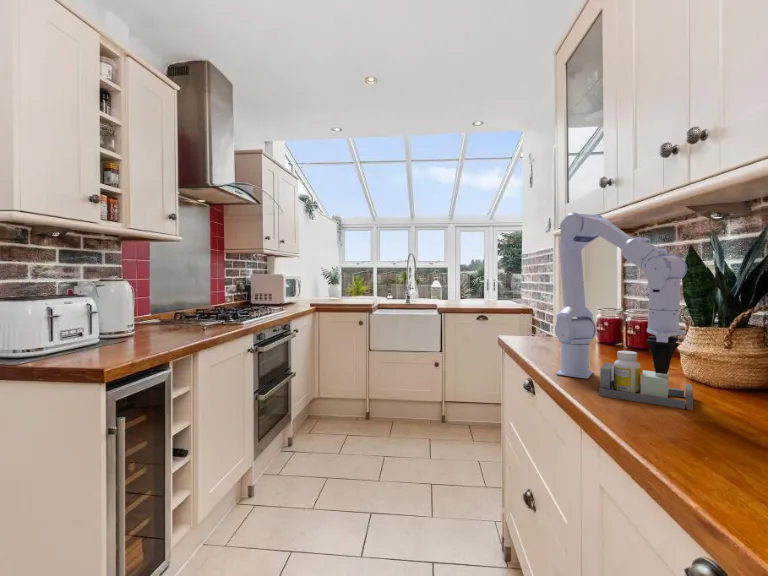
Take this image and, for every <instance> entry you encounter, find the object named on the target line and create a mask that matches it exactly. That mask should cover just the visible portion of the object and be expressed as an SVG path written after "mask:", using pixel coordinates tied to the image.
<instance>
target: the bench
mask: <svg viewBox="0 0 768 576" xmlns="http://www.w3.org/2000/svg"><path fill="white" fill-rule="evenodd" d="M599 374H600V378H599V382H600V383H599V389H598V396H599V397H605V398H611V399H612V398H613V399H619V400H626V401H632V402H638V403H643V404H651V405H656V406H663V407H669V408H670V407H671V408H676V409H682V410H685V409H686V410H688V411H689V410H690V411H693V410H694V392H693V386H692V384H691V383H685V389H680V388H673V387H668V396H670V397H671V396H672V397H679V398H685V400H683V399H677V398H669V397H668V398H664V397H657V396H650V395H643V394H641V393H640V394H636V393H630V392H623V391H616V390H613V381H614V380H613V379H614V362H604V364H603V365H602V366H601V367H600V372H599ZM640 392H641V383H640Z"/></svg>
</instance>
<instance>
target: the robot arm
mask: <svg viewBox="0 0 768 576" xmlns="http://www.w3.org/2000/svg"><path fill="white" fill-rule="evenodd" d="M559 228H560V240H559V256H560V257H559V260H560V274H561V286H562V298H563V299H562V301H563V302H562V303H563V307H562V309H561V310H560V311H559V312H558V313H557V314H556V322H555V324H554V333H555V336H556V338H557V339H558V342H560V364H559V365H560V369H559V370H558V371H557V372H556V373H555V374H556V375H558V376H563V377H572V378H579V379H586V380H587V379H589V378H590V377H591V375H592V374H593V373H594V370H593V369H592V370H591V369H590V361H591V360H590V359H591V358H590V356H591V354H590V353H591V351H590V345H591V343H592V340H593V339H594V338H595V337H596V335H597V332H598V331H597V329H598V328H597V324H596V322H595V320H594V317H593V316H594V314H593V313H592V312H591V311H590V309H588V308H587V307H586V294H585V285H584V283H585V282H584V270H583V257H582V256H583V255H582V251H583V249H584V248H585V247H586V246H587V245H589V244H590V243H591V242H593V241H595V240H596V239H597V238H599V237H600V238H602V239H604V240H606V241H607V242H609V243H611V244H612V245H614V247H618V248H619V249H621V250H622V251H621V252H622V257H623V258H625V260H627V261H629V262H630V263H632V264H633V265H634V266H636V267H637V268H638V269H640V270H642V272H643V275H644V277H645V278H646V280H647V286H648V313H647V328H646V332H647V333H649V334H651V335H650V336H649V335H648V338H647V339H646V343H647V345H648V347H649V350H650V352H651V356H652V360H653V367H654V372H656V373H662V374H667V373H669V370H670V366H671V362H672V361H671V360H672V357H673V355H674V352H675V350H676V349H677V347H678V346H679V342H678V340H679V338H678V337H677V336H678V335H686V330H681V329H680V304H681V301H680V300H681V280H682V279H684V277H685V276H686V274H687V271H688V266H687V263H686V261H685V260H684V259H683V258H682V257H681V256H680V255H677V254H676V255H675V254H674V255H673V254H672V255H668V253H667V252H668V251H667V250H666V249H664V248H659V247H657V246H656V245H654V244H653V243H651V240H652V239H650V238H648V237H640V236H638V237H631V236H630V235H628V234H627V233H626V232H625V231H623V230H621V228H619V227H618V226H616V225H614V224H613V223H612V222H611V221H609V218H606V217H604V216H602V215H600V214H591V213H589V214H588V213H578V212H575V211H574V212H570V213H568V214H566V216H565V217H564V218H563V219H562V221H561V222H560V223H559ZM653 335H654V336H653Z"/></svg>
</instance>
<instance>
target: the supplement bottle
mask: <svg viewBox="0 0 768 576" xmlns="http://www.w3.org/2000/svg"><path fill="white" fill-rule="evenodd" d="M616 357H617V359H616V360H615V361H614V362H613V363H614V379H613V380H614V381H613V390H616V391H623V392H630V393H636V394H641V391H640V384H641V363H639V362H638V361H637V360H638V352H637V351H631V350H618V351H617V354H616Z"/></svg>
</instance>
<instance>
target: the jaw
mask: <svg viewBox="0 0 768 576" xmlns="http://www.w3.org/2000/svg"><path fill="white" fill-rule="evenodd" d="M669 374H670V373H669V372H668V373H667V374H662V373H656V372H655V370H654V371H652V370H647V369H646V370H644V369H643V370H642V373H641V374H640V384H641V391H640V394H643V395H650V396H657V397H664V398H669V395H668V388H669V379H670V378H669V377H670V375H669Z"/></svg>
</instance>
